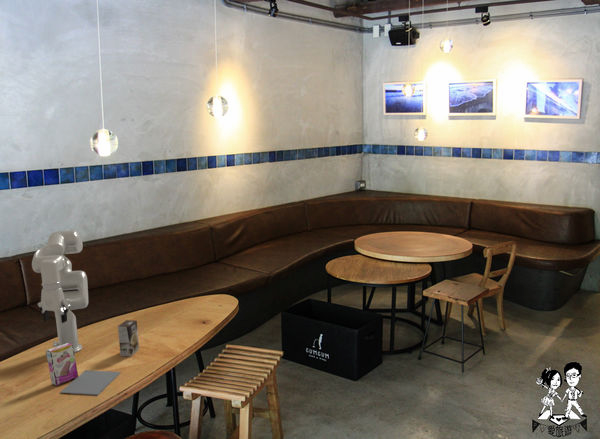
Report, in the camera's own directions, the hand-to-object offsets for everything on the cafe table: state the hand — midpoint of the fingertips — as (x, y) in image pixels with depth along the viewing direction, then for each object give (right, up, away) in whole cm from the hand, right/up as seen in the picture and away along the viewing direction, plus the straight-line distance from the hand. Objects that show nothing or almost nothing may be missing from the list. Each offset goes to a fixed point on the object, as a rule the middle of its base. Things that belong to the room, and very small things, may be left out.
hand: (55, 321), depth 276 cm
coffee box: (+26, -21, +29) cm, 45 cm away
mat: (+18, -28, -3) cm, 33 cm away
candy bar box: (+5, -28, -1) cm, 28 cm away
